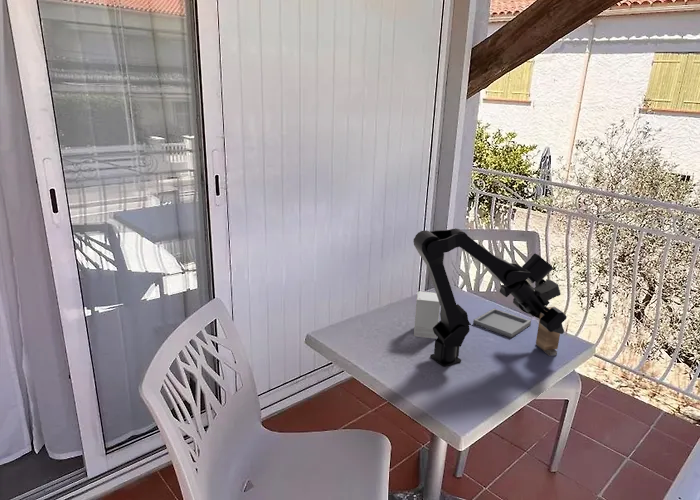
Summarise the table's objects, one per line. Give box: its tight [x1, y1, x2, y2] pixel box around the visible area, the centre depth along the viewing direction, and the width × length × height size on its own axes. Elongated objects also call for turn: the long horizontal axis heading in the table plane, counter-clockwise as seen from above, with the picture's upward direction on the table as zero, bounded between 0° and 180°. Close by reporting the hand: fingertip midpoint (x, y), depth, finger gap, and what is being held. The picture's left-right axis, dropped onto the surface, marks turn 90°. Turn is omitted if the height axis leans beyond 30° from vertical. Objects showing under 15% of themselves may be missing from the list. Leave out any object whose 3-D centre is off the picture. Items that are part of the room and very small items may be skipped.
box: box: [472, 308, 532, 339], centre depth 162 cm, size 14×14×2 cm
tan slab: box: [535, 306, 561, 357], centre depth 144 cm, size 4×7×13 cm, turn 12°
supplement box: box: [413, 291, 441, 339], centre depth 153 cm, size 7×7×13 cm
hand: (553, 325), depth 144 cm, fingers open, 9 cm apart
